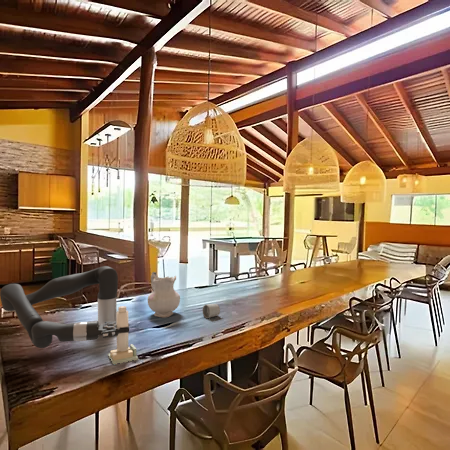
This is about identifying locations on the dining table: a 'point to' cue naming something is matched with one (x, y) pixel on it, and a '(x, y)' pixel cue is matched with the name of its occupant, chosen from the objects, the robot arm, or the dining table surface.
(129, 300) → the dining table surface
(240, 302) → the dining table surface
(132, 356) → the display stand
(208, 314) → the ceramic mug
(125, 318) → the white bottle
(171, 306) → the ceramic pitcher
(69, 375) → the dining table surface
